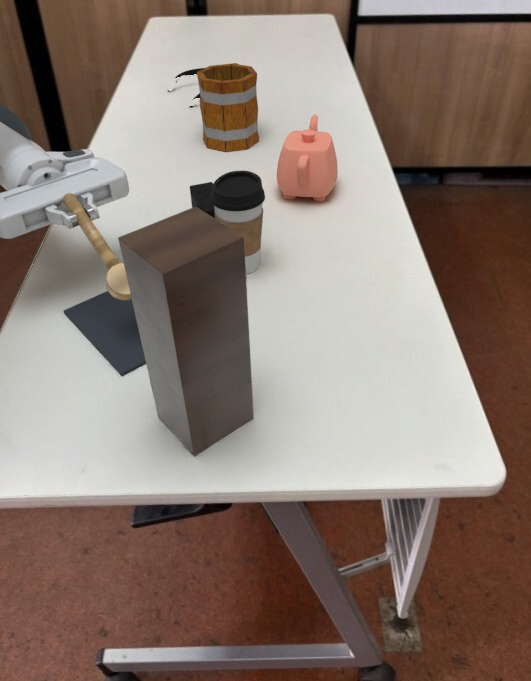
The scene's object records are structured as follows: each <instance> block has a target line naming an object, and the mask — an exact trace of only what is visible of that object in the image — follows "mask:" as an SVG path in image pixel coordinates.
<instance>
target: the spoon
mask: <svg viewBox="0 0 531 681" xmlns="http://www.w3.org/2000/svg"><path fill="white" fill-rule="evenodd" d="M63 202H64V203H65V205H66V206H67V208H68V209H69V211H72V212H73V213H74V214H76V216H77V218H78V222H79V226H78V227H80V229H81V231H82V232H83V234H84V235H85V237H86V238H87V240H88V241H89V242H90V244H91V245H92V247H93V249H94V250H95V251H96V253H97V255H98V256H99V257H100V259H101V261H102V262H103V263H104V264H103V265H105V267H106V269H107V270H108V271H107V273H106V278H105V280H106V281H105V287H106V288H105V289H106V291H108V292H109V293H110V294H111V295H112V296H113V297H115V298H117V299H119V300H131V299H132V298H131V294H130V289H129V285H128V280H127V276H126V271H125V267H124V263H123V262H120V261H119V259H118V257H117V256H116V254H115V253H114V252H113V250H112V249H111V247H110V245H108V243H107V241H106V239H105V238H104V236H102V234H101V232H100V231H99V229H98V228H97V226H96V225H95V223H94V222H93V220H91V219H90V217H89V216H88V214H87V213H86V211H85V210H84V208H83V207H82V205H81V204H80V202H79V201H78V199H77V198H76V196H75V195H74V194H72V193H66V194H65V195H64V196H63Z"/></svg>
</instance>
